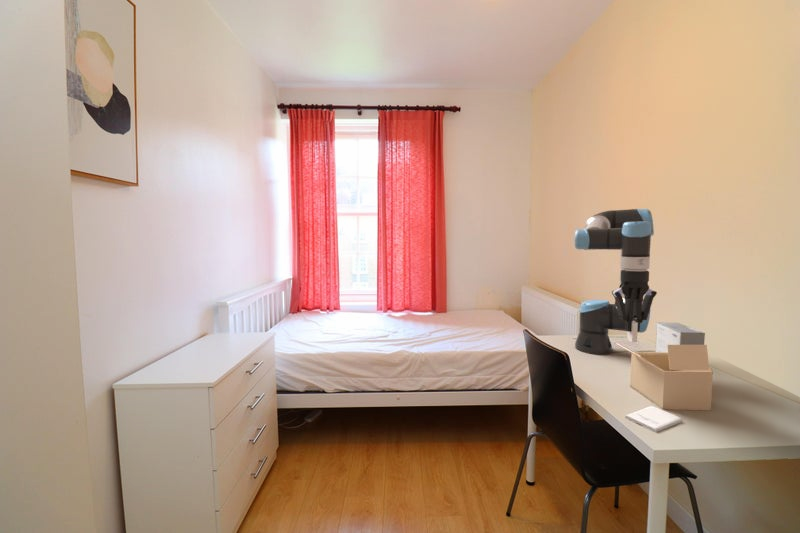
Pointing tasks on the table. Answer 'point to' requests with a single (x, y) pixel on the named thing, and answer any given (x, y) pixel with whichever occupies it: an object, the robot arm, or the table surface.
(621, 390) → the table surface
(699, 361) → the flap
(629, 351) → the flap
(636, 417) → the external hard drive
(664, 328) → the hard drive box
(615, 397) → the table surface
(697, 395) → the carton
